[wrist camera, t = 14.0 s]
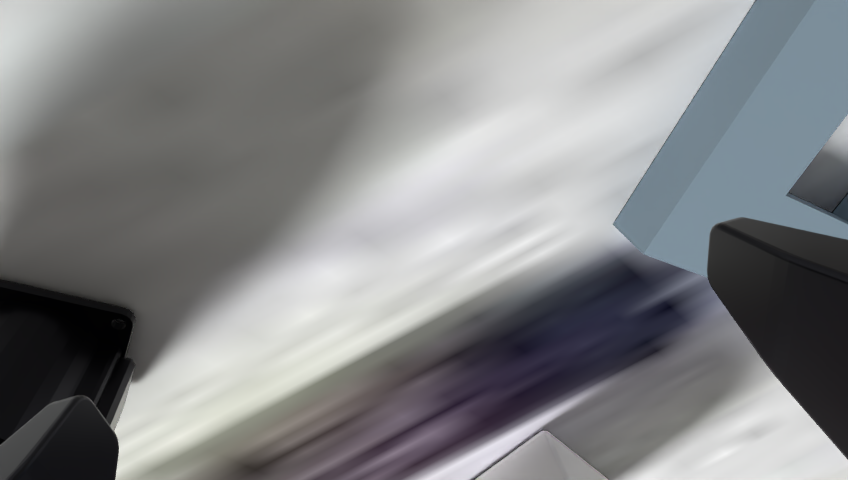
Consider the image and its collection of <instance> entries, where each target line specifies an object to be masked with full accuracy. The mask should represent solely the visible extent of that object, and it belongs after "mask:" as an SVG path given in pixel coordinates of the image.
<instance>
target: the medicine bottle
mask: <svg viewBox="0 0 848 480" xmlns="http://www.w3.org/2000/svg"><path fill="white" fill-rule="evenodd" d="M475 480H609V479H607V478H606V477H605V476H604V475H602V474H601V473H600V472H598V471H597V470H596V469H595V468H593V467H592V466H591V465H590V464H588V463H587V462H586V461H585V460H583V459H582V458H581V457H580V456H578V455H577V454H576V453H575V452H573V451H572V450H571V449H569V448H568V447H567V446H566V445H564V444H563V443H562V442H561V441H559V440H558V439H557V438H556V437H554V436H553V435H552V434H551V433H549V432H548V431H541V432H539V433H538V434H536V435H535V436H534V437H532V438H531V439H530V440H528V441H527V442H525V443H524V444H523V445H521V446H520V447H519V448H517V449H516V450H515V451H513V452H512V453H510V454H509V455H508V456H506V457H505V458H504V459H502V460H501V461H500V462H498V463H497V464H495V465H494V466H493V467H491V468H490V469H489V470H487V471H486V472H484V473H483V474H482V475H480V476H479V477H478V478H476V479H475Z"/></svg>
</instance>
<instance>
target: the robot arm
mask: <svg viewBox="0 0 848 480" xmlns="http://www.w3.org/2000/svg"><path fill="white" fill-rule="evenodd" d="M707 276H708V280H709V283H710V285H711V287H712V288H713V290H714V291H715V293H716V294H717V296H718V297H719V299H720V300H721V301H722V303H723V304H724V306H725V307H726V308H727V310H728V311H729V313H730V314H731V316H732V317H733V318H734V320H735V321H736V323H737V324H738V326H739V327H740V328H741V330H742V331H743V333H744V334H745V336H746V337H747V338H748V340H749V341H750V343H751V344H752V345H753V347H754V348H755V350H756V351H757V353H758V354H759V355H760V357H761V358H762V359H763V361H764V362H765V363H766V365H767V366H768V367H769V369H770V370H771V371H772V373H773V374H774V375H775V376H776V377H777V379H778V380H779V381H780V382H781V383H782V385H783V386H784V387H785V388H786V389H787V390H788V392H789V393H790V394H791V395H792V396H793V397H794V398H795V400H796V401H797V402H798V403H799V404H800V405H801V406H802V408H803V409H804V410H805V411H806V412H807V413H808V414H809V416H810V417H811V418H812V419H813V420H814V421H815V422H816V424H817V425H818V426H819V427H820V428H821V429H822V430H823V432H824V433H825V434H826V435H827V436H828V437H829V439H830V440H831V441H832V442H833V443H834V444H835V445H836V447H837V448H838V449H839V450H840V451H841V452H842V453H843V455H844V456H845V457H846V458H847V459H848V240H847V239H842V238H838V237H833V236H829V235H824V234H819V233H815V232H810V231H806V230H801V229H796V228H792V227H787V226H782V225H778V224H773V223H769V222H764V221H759V220H755V219H750V218H745V217H739V218H735V219H731V220H727V221H724V222H720V223H717V224H715V225H714V226H713V227H712V229H711V231H710V235H709V248H708V261H707ZM115 319H121V320H123V321H124V322H125V323H119V322H117V321H116V320H115ZM135 322H136V317H135V315H134V313H133V312H132V311H130V310H129V309H126V308H123V307H119V306H114V305H110V304H106V303H101V302H97V301H92V300H88V299H84V298H79V297H75V296H70V295H66V294H62V293H57V292H53V291H49V290H44V289H40V288H35V287H31V286H27V285H22V284H18V283H13V282H9V281H5V280H0V480H115V477H116V469H117V461H118V453H119V445H118V439H117V437H116V434H115V432H114V430H115V428H116V425H117V423H118V420H119V418H120V415H121V413H122V410H123V408H124V404H125V401H126V397H127V394H128V390H129V387H130V383H131V380H132V376H133V372H134V369H135V363H134V362H133V360H132V359H130V358H126V355H127V351H128V347H129V344H130V340H131V336H132V333H133V329H134V325H135Z"/></svg>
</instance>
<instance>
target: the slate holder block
mask: <svg viewBox="0 0 848 480" xmlns="http://www.w3.org/2000/svg"><path fill="white" fill-rule="evenodd" d="M847 114H848V0H756V1H755V3H754V4H753V6H752V7H751V9H750V11H749V12H748V14H747V15H746V17H745V18H744V20H743V22H742V23H741V25H740V26H739V28H738V29H737V31H736V33H735V34H734V36H733V37H732V39H731V40H730V42H729V44H728V45H727V47H726V48H725V50H724V51H723V53H722V54H721V56H720V58H719V59H718V61H717V62H716V64H715V65H714V67H713V69H712V70H711V72H710V73H709V75H708V76H707V78H706V80H705V81H704V83H703V84H702V86H701V87H700V89H699V91H698V92H697V94H696V95H695V97H694V98H693V100H692V101H691V103H690V105H689V106H688V108H687V109H686V111H685V112H684V114H683V116H682V117H681V119H680V120H679V122H678V123H677V125H676V127H675V128H674V130H673V131H672V133H671V134H670V136H669V137H668V139H667V141H666V142H665V144H664V145H663V147H662V148H661V150H660V152H659V153H658V155H657V156H656V158H655V159H654V161H653V163H652V164H651V166H650V167H649V169H648V170H647V172H646V174H645V175H644V177H643V178H642V180H641V181H640V183H639V184H638V186H637V188H636V189H635V191H634V192H633V194H632V195H631V197H630V199H629V200H628V202H627V203H626V205H625V206H624V208H623V210H622V211H621V213H620V214H619V216H618V217H617V219H616V221H615V222H614V224H613V225H614V226H615V227H616V228H617V229H618V230H619V231H620V232H621V233H622V234H623V235H624V236H625V237H626V238H627V239H628V240H629V241H630V242H631V243H632V244H633V245H634V246H635V247H636V248H637V249H638V250H639V251H640V252H641V253H642V254H644V255H647V256H650V257H652V258H655V259H658V260H661V261H663V262H666V263H669V264H672V265H674V266H677V267H680V268H683V269H685V270H688V271H691V272H694V273H696V274H699V275H702V276H705V277H707V278H708V276H707V261H708V248H709V235H710V231H711V229H712V227H713V226H714V225H715V224H717V223H720V222H724V221H727V220H731V219H735V218H739V217H745V218H750V219H755V220H759V221H764V222H769V223H773V224H778V225H782V226H787V227H792V228H796V229H801V230H806V231H810V232H815V233H819V234H824V235H829V236H833V237H838V238H842V239H847V240H848V194H847V195H846V197H845V198H844V199H843V200H842V202H841V203H840V204H839V205H838V207H837V208H836V209H835V210H834V211H833V213H831V212H828V211H826V210H824V209H822V208H820V207H818V206H816V205H813V204H811V203H809V202H807V201H805V200H803V199H801V198H798V197H796V196H794V195H792V194H790V193H788V192H789V191H790V189H791V188H792V187H793V185H794V184H795V183H796V181H797V180H798V179H799V177H800V176H801V175H802V173H803V172H804V171H805V170H806V168H807V167H808V166H809V164H810V163H811V162H812V160H813V159H814V158H815V156H816V155H817V154H818V152H819V151H820V150H821V149H822V147H823V146H824V145H825V143H826V142H827V141H828V139H829V138H830V137H831V135H832V134H833V133H834V131H835V130H836V129H837V127H838V126H839V125H840V124H841V122H842V121H843V120H844V118H845V117H846V116H847Z"/></svg>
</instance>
